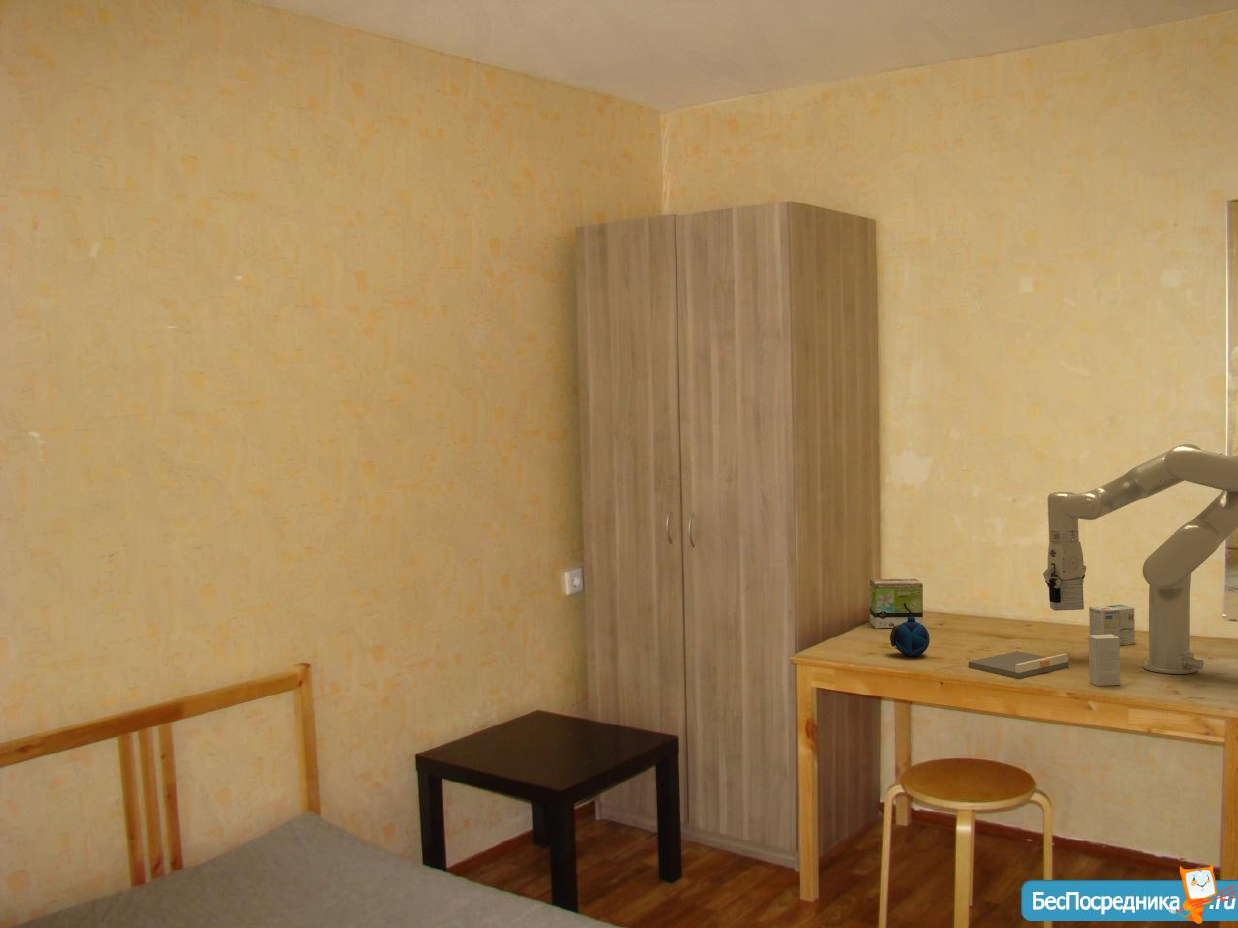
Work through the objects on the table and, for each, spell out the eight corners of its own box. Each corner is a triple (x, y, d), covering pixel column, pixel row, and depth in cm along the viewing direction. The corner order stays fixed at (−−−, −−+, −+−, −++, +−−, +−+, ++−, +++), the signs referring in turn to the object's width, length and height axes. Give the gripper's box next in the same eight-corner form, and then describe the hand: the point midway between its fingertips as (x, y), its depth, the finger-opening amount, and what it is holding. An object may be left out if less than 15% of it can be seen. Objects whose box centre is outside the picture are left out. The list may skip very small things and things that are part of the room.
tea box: (875, 629, 342) (874, 583, 342) (869, 623, 352) (868, 578, 352) (923, 628, 342) (923, 582, 341) (916, 622, 352) (915, 577, 351)
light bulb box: (1119, 639, 318) (1119, 603, 317) (1135, 644, 311) (1135, 607, 311) (1088, 642, 315) (1088, 606, 315) (1104, 647, 309) (1104, 610, 308)
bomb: (890, 651, 311) (889, 599, 311) (929, 652, 308) (928, 600, 308) (889, 659, 302) (888, 605, 301) (930, 660, 299) (929, 606, 298)
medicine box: (1079, 607, 298) (1078, 576, 297) (1084, 610, 293) (1083, 578, 293) (1049, 608, 299) (1048, 577, 299) (1054, 611, 294) (1052, 579, 294)
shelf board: (1070, 667, 286) (1070, 654, 286) (1020, 679, 276) (1020, 665, 276) (1017, 656, 301) (1017, 643, 300) (968, 667, 290) (968, 654, 290)
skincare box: (1112, 681, 271) (1112, 633, 271) (1120, 685, 267) (1120, 637, 267) (1088, 682, 271) (1088, 634, 271) (1096, 686, 267) (1096, 638, 266)
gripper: (1055, 541, 288) (1057, 605, 288) (1095, 535, 297) (1098, 597, 297) (1031, 539, 294) (1033, 602, 295) (1071, 533, 303) (1074, 594, 304)
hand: (1066, 599), depth 296 cm, fingers closed on medicine box, 9 cm apart
